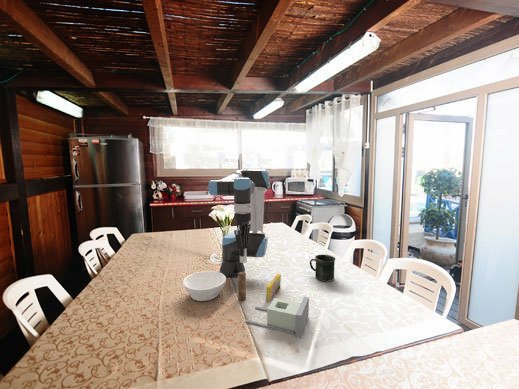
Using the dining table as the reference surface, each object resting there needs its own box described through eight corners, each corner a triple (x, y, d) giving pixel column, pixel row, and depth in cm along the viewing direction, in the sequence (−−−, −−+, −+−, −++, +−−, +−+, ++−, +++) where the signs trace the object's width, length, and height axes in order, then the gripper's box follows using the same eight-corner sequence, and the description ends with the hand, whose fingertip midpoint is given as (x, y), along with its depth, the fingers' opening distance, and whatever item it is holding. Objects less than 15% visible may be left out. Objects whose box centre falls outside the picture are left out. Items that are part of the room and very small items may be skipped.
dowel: (237, 302, 121) (236, 274, 119) (240, 299, 124) (240, 271, 122) (243, 304, 119) (243, 275, 118) (247, 300, 123) (246, 272, 121)
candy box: (269, 304, 119) (269, 287, 119) (265, 303, 120) (265, 286, 119) (280, 289, 134) (281, 273, 133) (277, 288, 135) (277, 273, 134)
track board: (241, 326, 103) (241, 302, 102) (255, 308, 116) (255, 287, 115) (300, 341, 94) (301, 315, 93) (308, 320, 107) (308, 297, 106)
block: (267, 325, 101) (267, 308, 101) (274, 313, 110) (274, 297, 109) (297, 332, 97) (297, 315, 96) (302, 319, 105) (302, 303, 104)
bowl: (233, 288, 135) (233, 273, 134) (213, 310, 115) (212, 292, 114) (198, 282, 141) (197, 268, 140) (174, 302, 122) (173, 285, 121)
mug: (331, 284, 140) (332, 262, 138) (306, 278, 147) (306, 257, 146) (337, 276, 149) (337, 256, 147) (312, 271, 156) (313, 252, 155)
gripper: (243, 215, 108) (244, 268, 111) (255, 210, 120) (256, 258, 123) (228, 214, 111) (229, 266, 114) (241, 208, 123) (242, 256, 126)
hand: (243, 262), depth 119 cm, fingers closed
